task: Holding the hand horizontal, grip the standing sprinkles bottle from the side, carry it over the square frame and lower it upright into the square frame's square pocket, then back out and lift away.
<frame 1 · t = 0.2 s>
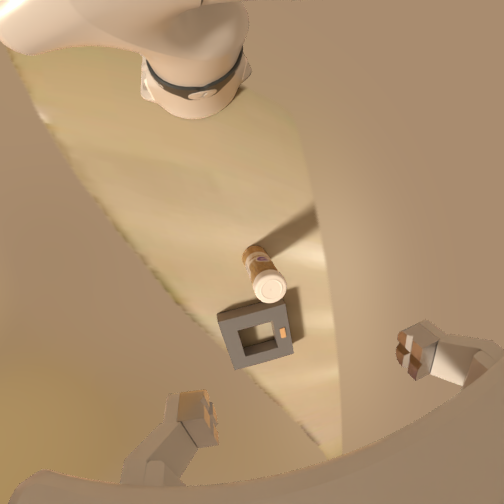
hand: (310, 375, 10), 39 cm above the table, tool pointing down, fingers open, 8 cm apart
sprinkles bottle: (253, 256, 50), on the table
square frame: (255, 331, 55), on the table
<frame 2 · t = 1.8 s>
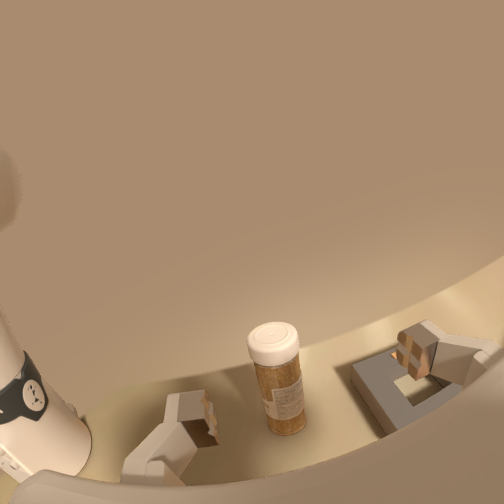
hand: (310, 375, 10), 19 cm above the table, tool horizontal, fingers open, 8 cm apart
sprinkles bottle: (287, 423, 27), on the table
square frame: (416, 391, 25), on the table
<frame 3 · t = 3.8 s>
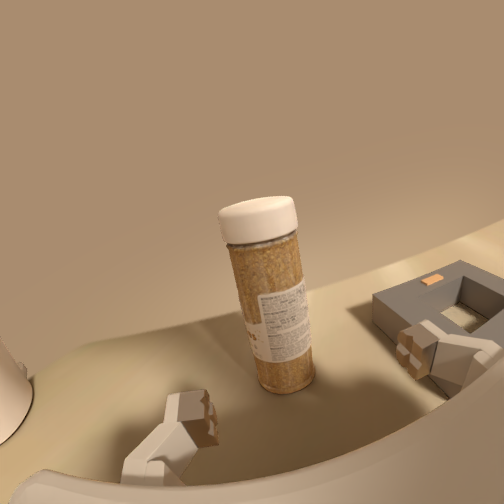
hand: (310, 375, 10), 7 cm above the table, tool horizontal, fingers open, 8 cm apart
sprinkles bottle: (287, 378, 20), on the table
square frame: (461, 328, 18), on the table
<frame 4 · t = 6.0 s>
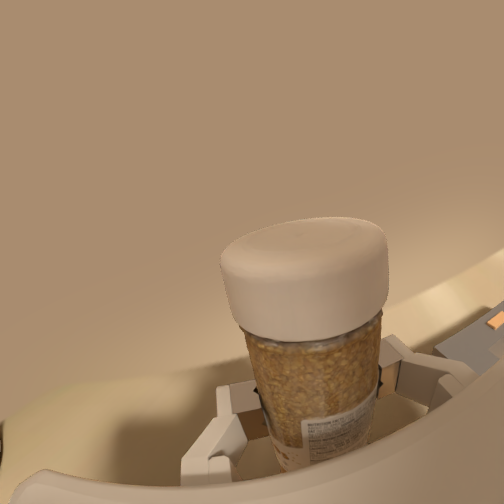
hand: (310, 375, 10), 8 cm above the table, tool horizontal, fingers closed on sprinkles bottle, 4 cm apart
sprinkles bottle: (322, 471, 11), on the table, touching gripper
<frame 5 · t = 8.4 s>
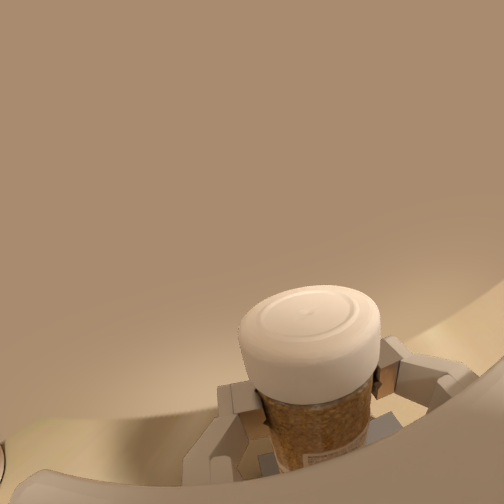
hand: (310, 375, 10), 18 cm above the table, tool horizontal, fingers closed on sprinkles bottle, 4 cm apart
sprinkles bottle: (321, 487, 11), point 7 cm above the table, touching gripper
square frame: (349, 500, 14), on the table
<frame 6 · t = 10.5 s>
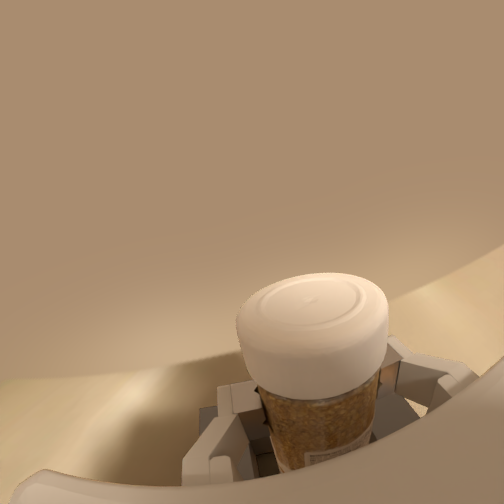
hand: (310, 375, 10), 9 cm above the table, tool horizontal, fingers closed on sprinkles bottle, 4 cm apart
sprinkles bottle: (322, 485, 11), resting in square frame, touching gripper
square frame: (319, 481, 11), on the table
when the fingers open (9 cm above the table, at t = 11.0 s): sprinkles bottle stays where it is, resting in square frame.
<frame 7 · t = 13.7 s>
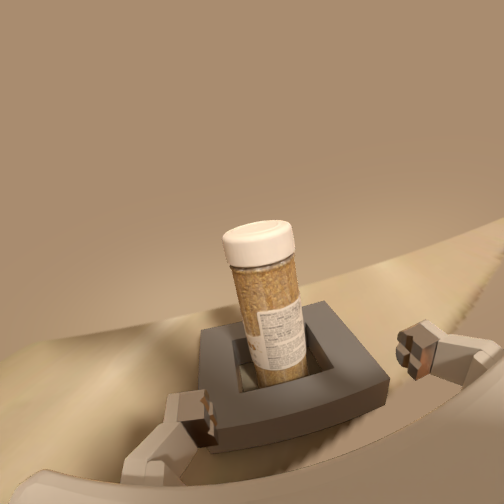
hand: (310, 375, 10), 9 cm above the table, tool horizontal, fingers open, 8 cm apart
sprinkles bottle: (284, 383, 21), resting in square frame
square frame: (282, 379, 21), on the table
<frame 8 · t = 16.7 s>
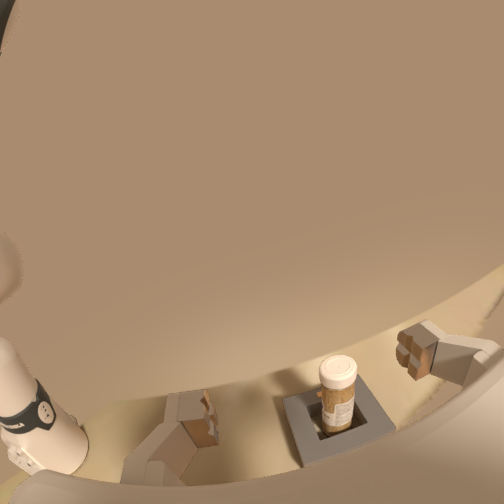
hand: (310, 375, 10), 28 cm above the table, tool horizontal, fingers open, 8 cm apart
sprinkles bottle: (337, 428, 32), resting in square frame
square frame: (335, 426, 32), on the table
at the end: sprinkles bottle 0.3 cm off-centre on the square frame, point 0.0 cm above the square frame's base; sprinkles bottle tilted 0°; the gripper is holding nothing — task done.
